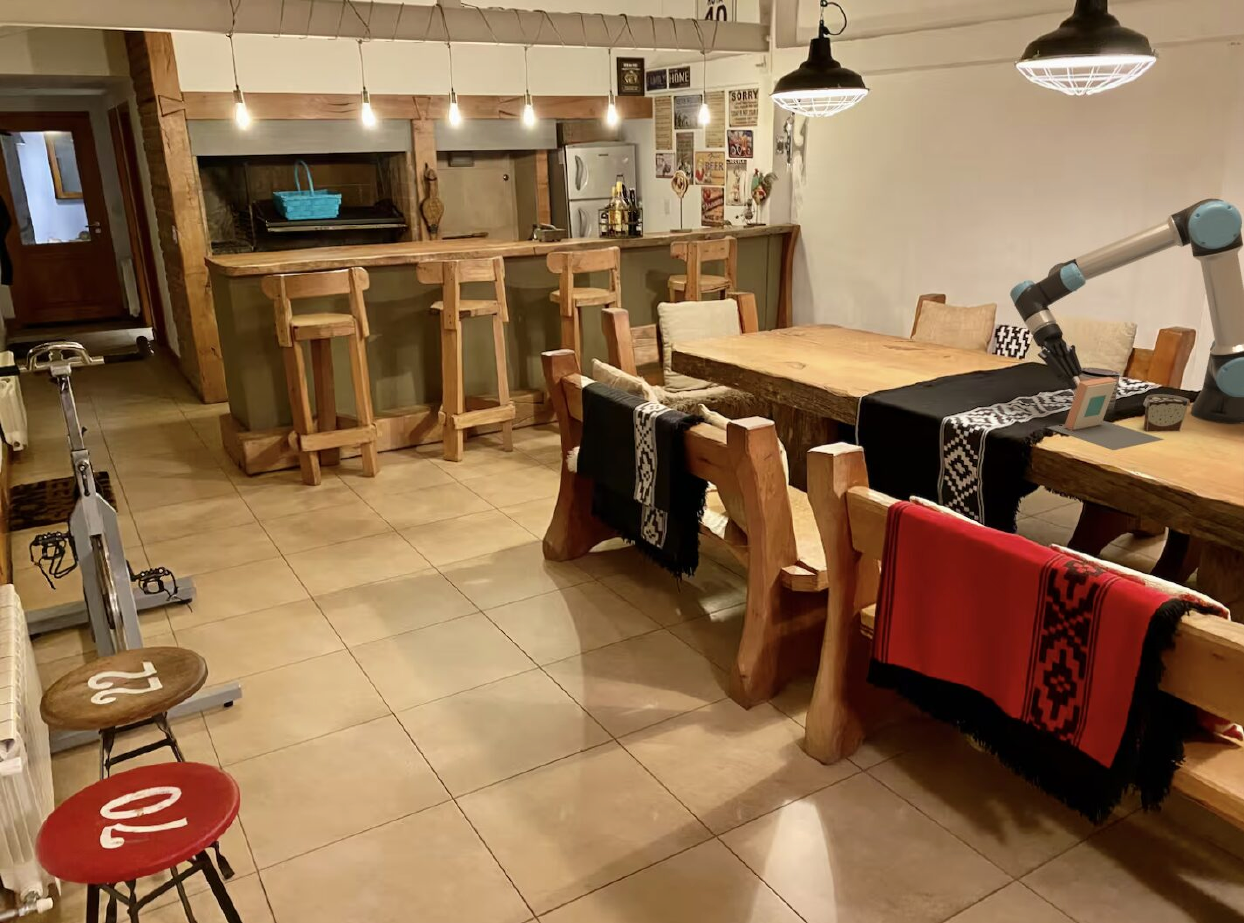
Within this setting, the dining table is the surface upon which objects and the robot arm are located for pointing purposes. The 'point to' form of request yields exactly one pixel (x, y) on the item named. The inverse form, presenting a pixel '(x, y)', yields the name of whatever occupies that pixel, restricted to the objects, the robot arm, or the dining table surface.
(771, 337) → the dining table surface
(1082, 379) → the can
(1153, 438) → the mat
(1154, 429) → the food container
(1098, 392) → the tile
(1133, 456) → the dining table surface
